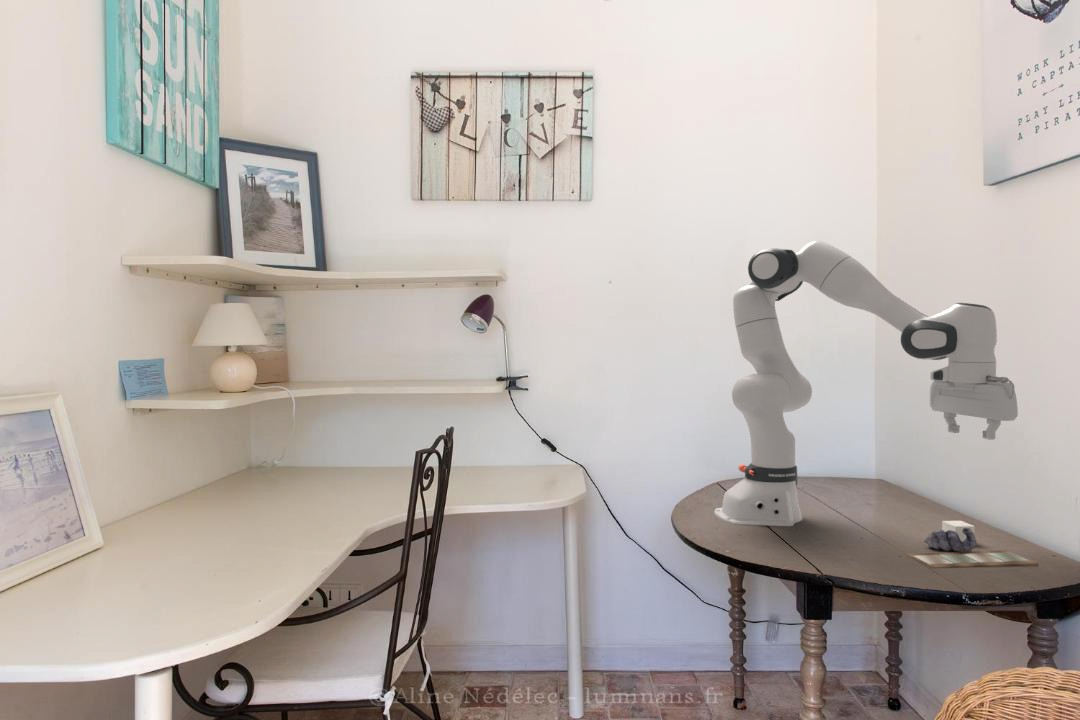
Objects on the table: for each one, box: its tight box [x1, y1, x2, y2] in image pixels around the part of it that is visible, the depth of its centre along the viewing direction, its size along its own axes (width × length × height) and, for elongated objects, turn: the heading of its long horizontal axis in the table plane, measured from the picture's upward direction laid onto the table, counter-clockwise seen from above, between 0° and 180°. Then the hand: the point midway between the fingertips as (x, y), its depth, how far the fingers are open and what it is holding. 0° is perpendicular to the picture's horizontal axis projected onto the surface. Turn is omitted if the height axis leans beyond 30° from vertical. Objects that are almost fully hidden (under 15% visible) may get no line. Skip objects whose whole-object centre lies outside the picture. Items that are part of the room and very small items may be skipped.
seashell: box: [923, 528, 977, 552], centre depth 136 cm, size 5×5×10 cm
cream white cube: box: [941, 520, 976, 542], centre depth 143 cm, size 4×4×4 cm
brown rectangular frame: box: [905, 549, 1039, 569], centre depth 130 cm, size 23×8×1 cm, turn 93°
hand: (970, 435), depth 138 cm, fingers open, 8 cm apart
